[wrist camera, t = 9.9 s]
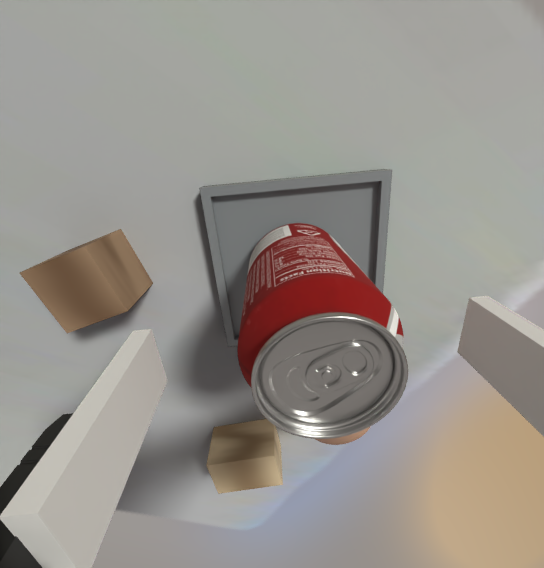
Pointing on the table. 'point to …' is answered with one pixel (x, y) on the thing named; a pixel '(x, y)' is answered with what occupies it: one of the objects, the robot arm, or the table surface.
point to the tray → (294, 209)
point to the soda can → (318, 337)
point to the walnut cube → (90, 281)
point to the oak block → (245, 456)
